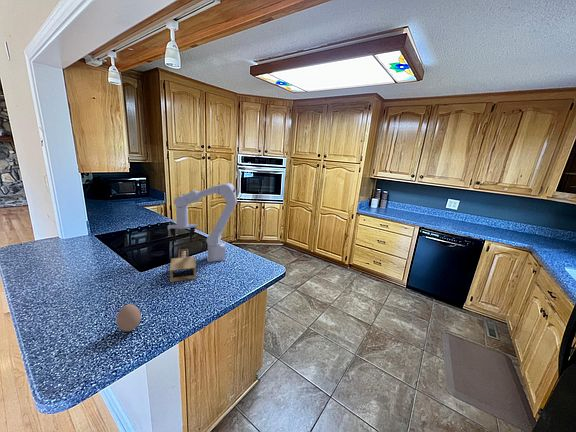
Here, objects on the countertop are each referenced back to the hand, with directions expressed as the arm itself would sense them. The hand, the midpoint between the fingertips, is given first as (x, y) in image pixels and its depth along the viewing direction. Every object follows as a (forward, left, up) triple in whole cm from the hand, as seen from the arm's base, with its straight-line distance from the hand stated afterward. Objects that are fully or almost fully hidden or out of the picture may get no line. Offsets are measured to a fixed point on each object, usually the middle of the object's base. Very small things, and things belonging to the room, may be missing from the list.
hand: (183, 241), depth 129 cm
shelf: (0, +20, -10) cm, 22 cm away
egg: (+16, +54, -10) cm, 57 cm away
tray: (0, +6, -10) cm, 11 cm away
